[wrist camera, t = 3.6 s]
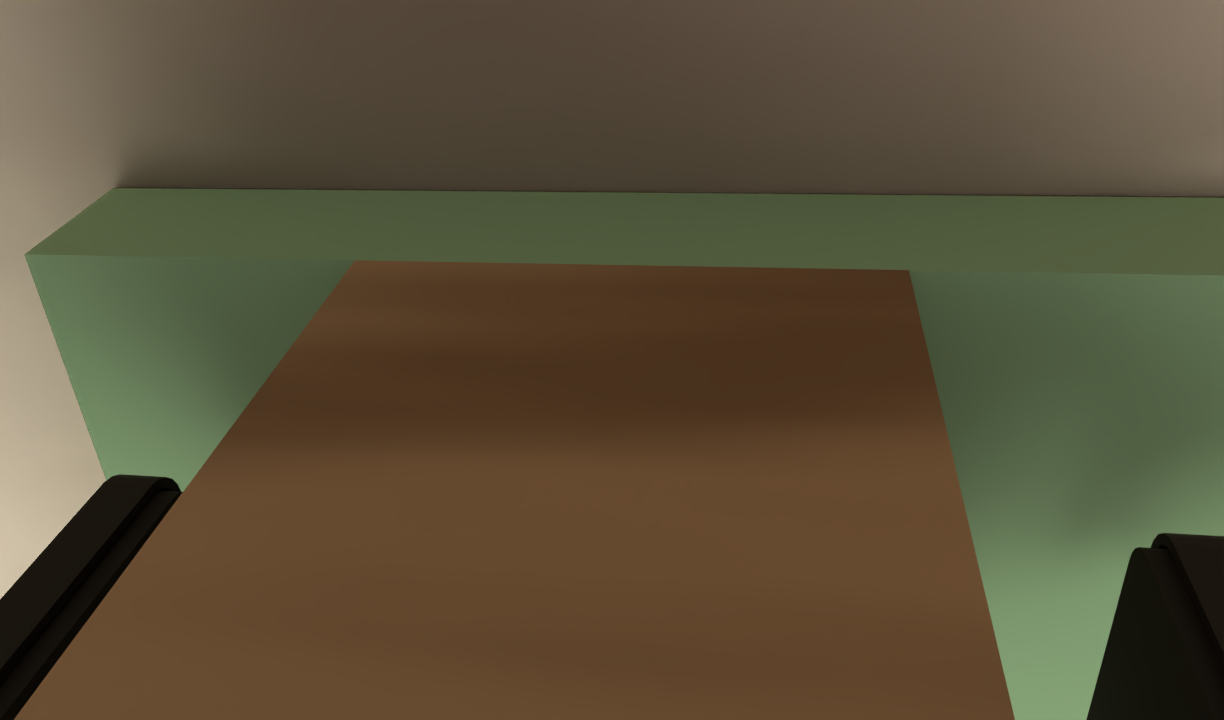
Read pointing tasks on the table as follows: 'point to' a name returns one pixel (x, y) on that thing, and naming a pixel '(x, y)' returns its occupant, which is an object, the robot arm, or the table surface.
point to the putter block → (565, 514)
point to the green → (736, 237)
